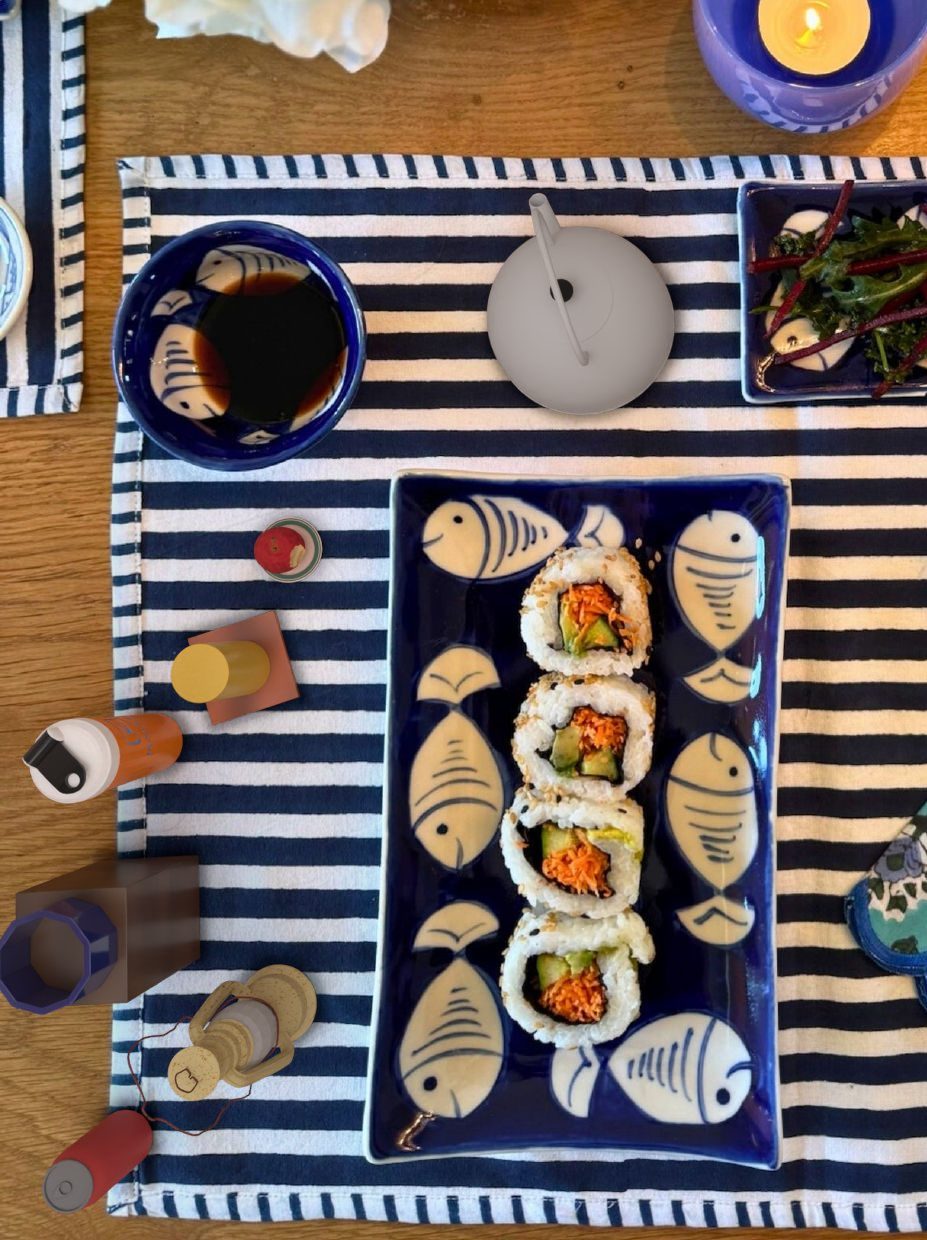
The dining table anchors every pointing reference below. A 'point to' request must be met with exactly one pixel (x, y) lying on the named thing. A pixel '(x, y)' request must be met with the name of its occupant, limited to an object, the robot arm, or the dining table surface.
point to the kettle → (579, 317)
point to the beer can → (97, 1162)
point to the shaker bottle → (101, 754)
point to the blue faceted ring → (15, 977)
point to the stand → (120, 924)
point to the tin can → (219, 670)
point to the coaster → (281, 673)
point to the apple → (288, 549)
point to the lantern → (241, 1034)
